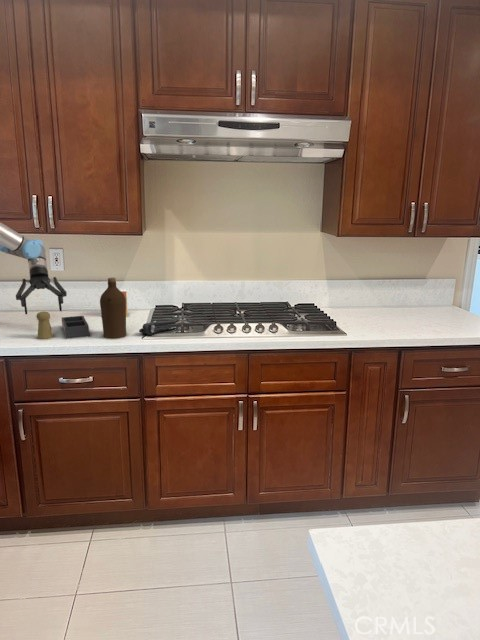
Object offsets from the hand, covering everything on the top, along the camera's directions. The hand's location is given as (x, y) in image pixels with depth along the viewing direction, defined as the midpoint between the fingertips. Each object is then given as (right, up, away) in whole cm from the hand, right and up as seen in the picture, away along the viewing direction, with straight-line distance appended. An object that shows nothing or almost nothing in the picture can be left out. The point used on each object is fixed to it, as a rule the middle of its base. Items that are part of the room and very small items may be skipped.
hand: (43, 311), depth 197 cm
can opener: (+48, -9, +8) cm, 49 cm away
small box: (+23, -2, +34) cm, 42 cm away
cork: (+1, -11, -2) cm, 12 cm away
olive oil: (+30, -11, +2) cm, 32 cm away
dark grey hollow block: (+11, -9, +7) cm, 16 cm away
